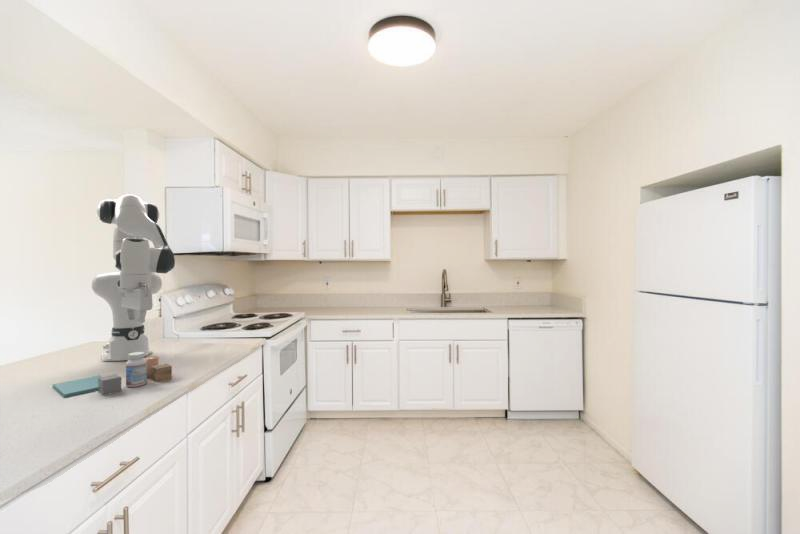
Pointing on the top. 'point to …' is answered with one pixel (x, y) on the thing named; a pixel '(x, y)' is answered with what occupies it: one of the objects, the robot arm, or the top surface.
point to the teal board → (77, 386)
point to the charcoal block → (109, 384)
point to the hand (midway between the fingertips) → (136, 321)
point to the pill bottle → (136, 370)
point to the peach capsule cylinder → (151, 364)
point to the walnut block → (161, 372)
